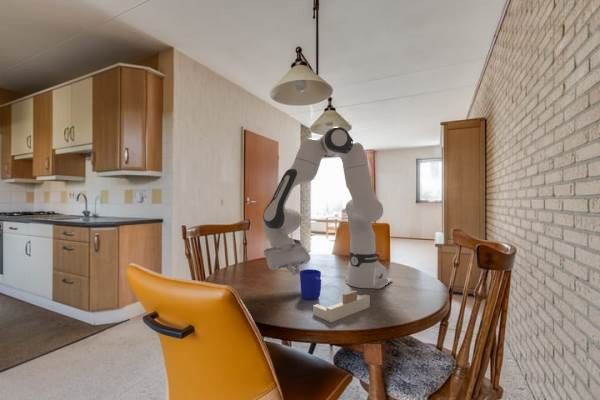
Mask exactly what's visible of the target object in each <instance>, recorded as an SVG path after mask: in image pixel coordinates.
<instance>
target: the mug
mask: <svg viewBox="0 0 600 400" xmlns="http://www.w3.org/2000/svg"><path fill="white" fill-rule="evenodd" d="M321 277H322V272H321V270H318V269H310V268H309V269H302V270H300V274H299V281H300V295H301V297H302V298H303V299H304V300H309V301H310V300H316V299H318V298H320V296H321V289H322V278H321Z"/></svg>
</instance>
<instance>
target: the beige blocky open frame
mask: <svg viewBox="0 0 600 400" xmlns="http://www.w3.org/2000/svg"><path fill="white" fill-rule="evenodd" d="M370 298H371V297H370V295H369V294H366V293H364V294H362V295H360V294H358V291H357V290H351V291H348V292H345V293H342V302H339V303H335V304H333V305H330V306H328V307H326V306H323V305H321V304H317V303H316V304H314V305H312V314H313V316H316V317H318V318H320V319H322V320H325V321H327V322H329V323H333V322H335V321H338V320H341V319H343V318H346V317H348V316H351V315H353V314H355V313H358V312H361V311H363V310H366V309H370V306H371V305H370V303H371V301H370Z"/></svg>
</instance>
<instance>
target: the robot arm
mask: <svg viewBox="0 0 600 400" xmlns="http://www.w3.org/2000/svg"><path fill="white" fill-rule="evenodd" d="M349 133H350V132H348V131H347V129H345V128H344V127H342V126H334V127H330V128H329V129H328V130H327V131H326V132H324V133H323V135H322V136H321V137H320V138H319V139H317V138H315V137H309V138H305V139H304V140H303V141H302V143H301V145H300V146H299V148H298V151H297V152H296V156H295V158H294V161H293V163H292V165H291V166H290V168H289V169H287V170H286V171H285V172H284V174H283V176H282V177H281V179H280V181H279V183H278V185H277V188H276V190H275V192H274V194H273V196H272V197H271V200H270V202H269V203H268V204H267V206H266V207H265V209H264V211H263V213H262V220H261V227H262V230H263V233H264V235H265V238H266V239H267V241H268V242H269V245H270V248H268V247H267V248H265V249H264V250H263V255H264V256H265V260H266V263H267V266H268V268H269V269H270V270H271V271H274V270H279V269H287V271H289V272H290V273H291V274H292V276H298V275H300V271H301V270H300V266H301V265H307V264H308V263H309V262H310V260H311V256H310V253H309V251H308V250H307V249H306V248H305V246H303V242H302V240H300V239H295V238H293V237H290V236H289V235H290V234H292V233H293V232H295V231H296V230H298V228H299V227H300V226H301V223H302V217H301V214H300V212H299V211H298V210H295V209H293V208H289V207H286V204H287V201H288V200H289V197H290V195H291V193H292V191H293V189H294V188H295V187H297V186H299V185H303V184H308V183H310V182H311V181H313V180H315V178H316V176H317V174H318V171H319V169H320V165H321V161H322V159H323V158H324V157H325V158H332V157H335V156H338V157H339V158H340V159H341V162H342V167H343V174H344V180H345V186H346V188H347V190H348V191H349V192H348V193H349V194H350V196H351V199H350V200H349V201H348V202H347V203H346V205H345V208H344V209H345V213H346V215H347V222H348V228H349V236H350V238H349V240H350V243H349V247H350V248H349V249H350V250H349V252H348V253H349V254H348V260H349V262H348V264H347V265H348V266H347V274H346V277H345V281H346V284H347V285H348V286H351V287H354V288H358V289H377V290H378V289H382V288H384V287H386V286H387V285H389V284H390V282H391V283H392V282H393V279H392V278H391V277H388V276H387V275H388V274H387V271H388V270H387V268H386V267H385V266H384V265H383V264H382V263H381V262H380V261H379V259H378V258H381V256H382V253H381V252H376V234H375V231H374V229H373V224H372V223H373V222H377V221H379V220H380V219H381V218H382V217H383V214H384V206H383V204H382V203H381V202H380V201H379V198H378V196H377V194H376V191H375V189H374V186H373V183H372V178H371V173H370V168H369V162H368V157H367V153H366V152H365V148H364V145H362V143H360V142H358V141H354V139H353V138H352V137H351V135H350V134H349ZM388 283H389V284H388ZM385 285H386V286H385Z"/></svg>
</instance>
